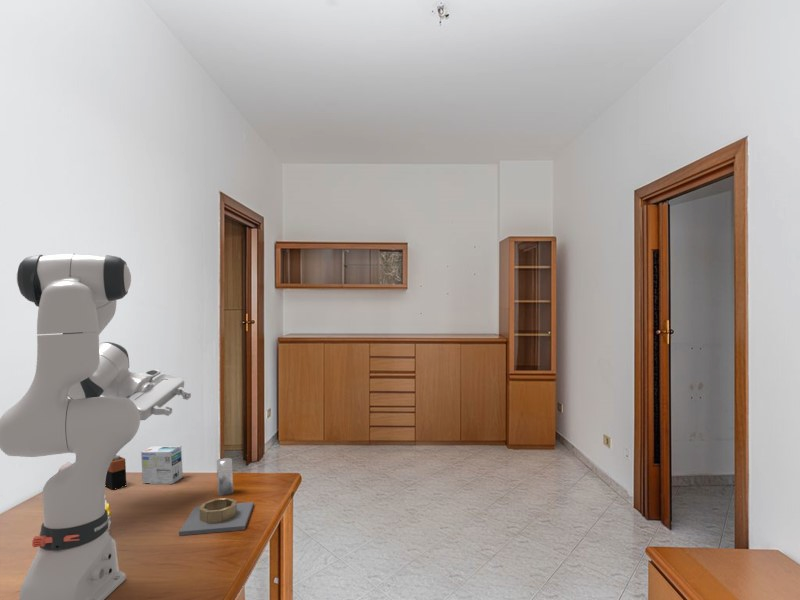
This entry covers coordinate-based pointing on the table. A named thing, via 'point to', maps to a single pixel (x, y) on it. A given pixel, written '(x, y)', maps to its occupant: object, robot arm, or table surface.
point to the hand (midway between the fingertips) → (180, 404)
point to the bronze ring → (218, 510)
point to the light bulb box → (162, 464)
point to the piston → (224, 476)
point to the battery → (116, 473)
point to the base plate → (234, 524)
